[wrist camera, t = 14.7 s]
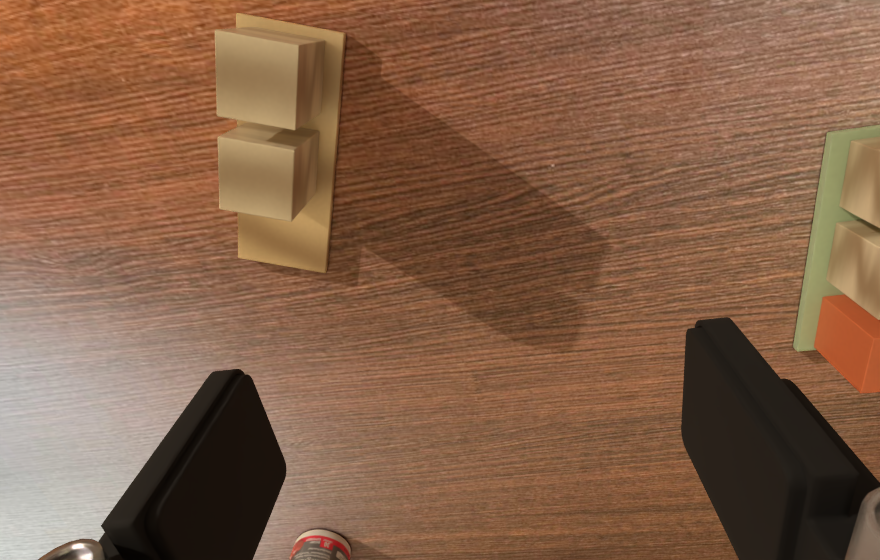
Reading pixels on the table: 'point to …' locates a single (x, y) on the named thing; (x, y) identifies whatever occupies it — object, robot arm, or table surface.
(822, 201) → the word board
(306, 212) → the word board
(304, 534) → the pill bottle
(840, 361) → the terracotta cube
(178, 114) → the table surface
